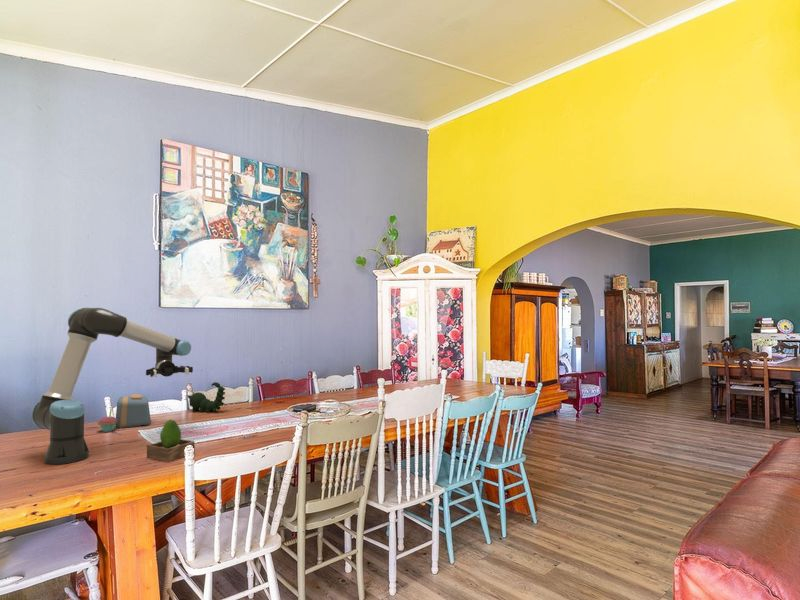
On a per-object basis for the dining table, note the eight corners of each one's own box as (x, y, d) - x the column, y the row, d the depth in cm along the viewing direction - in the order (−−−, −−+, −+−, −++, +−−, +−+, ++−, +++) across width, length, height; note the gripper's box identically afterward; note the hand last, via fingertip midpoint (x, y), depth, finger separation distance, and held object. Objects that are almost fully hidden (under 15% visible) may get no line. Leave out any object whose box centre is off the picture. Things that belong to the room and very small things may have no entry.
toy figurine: (226, 413, 298) (191, 407, 304) (228, 382, 297) (193, 377, 304) (216, 417, 289) (180, 411, 295) (219, 384, 288) (183, 379, 295)
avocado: (162, 452, 202) (162, 422, 203) (158, 447, 209) (158, 419, 209) (183, 448, 207) (183, 419, 207) (178, 444, 213) (178, 416, 214)
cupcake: (121, 428, 254) (121, 405, 255) (109, 433, 246) (110, 408, 246) (105, 428, 255) (105, 405, 255) (93, 432, 247) (93, 408, 247)
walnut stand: (167, 461, 199) (167, 449, 199) (146, 457, 205) (146, 445, 205) (194, 453, 210) (194, 441, 210) (174, 449, 217) (174, 437, 217)
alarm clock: (116, 423, 268) (116, 393, 268) (150, 419, 276) (150, 390, 276) (115, 429, 254) (115, 398, 254) (150, 425, 261) (150, 395, 262)
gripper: (193, 373, 253) (200, 378, 235) (138, 377, 240) (141, 383, 222) (193, 359, 253) (200, 362, 235) (138, 362, 240) (141, 366, 222)
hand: (172, 372), depth 228 cm, fingers open, 13 cm apart
